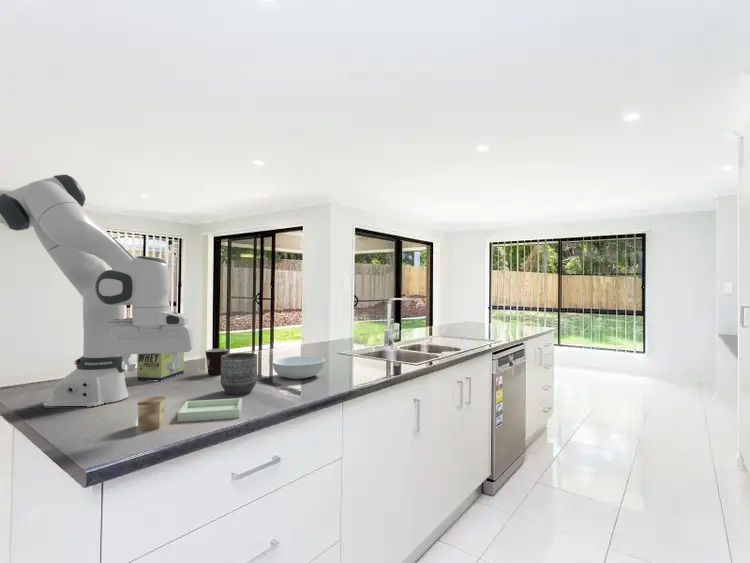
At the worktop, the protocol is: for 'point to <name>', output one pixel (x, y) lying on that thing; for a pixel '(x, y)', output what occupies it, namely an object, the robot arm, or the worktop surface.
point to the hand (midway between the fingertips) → (151, 370)
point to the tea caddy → (150, 412)
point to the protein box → (158, 366)
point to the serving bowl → (298, 366)
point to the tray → (210, 409)
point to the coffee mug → (214, 361)
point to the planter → (238, 373)
